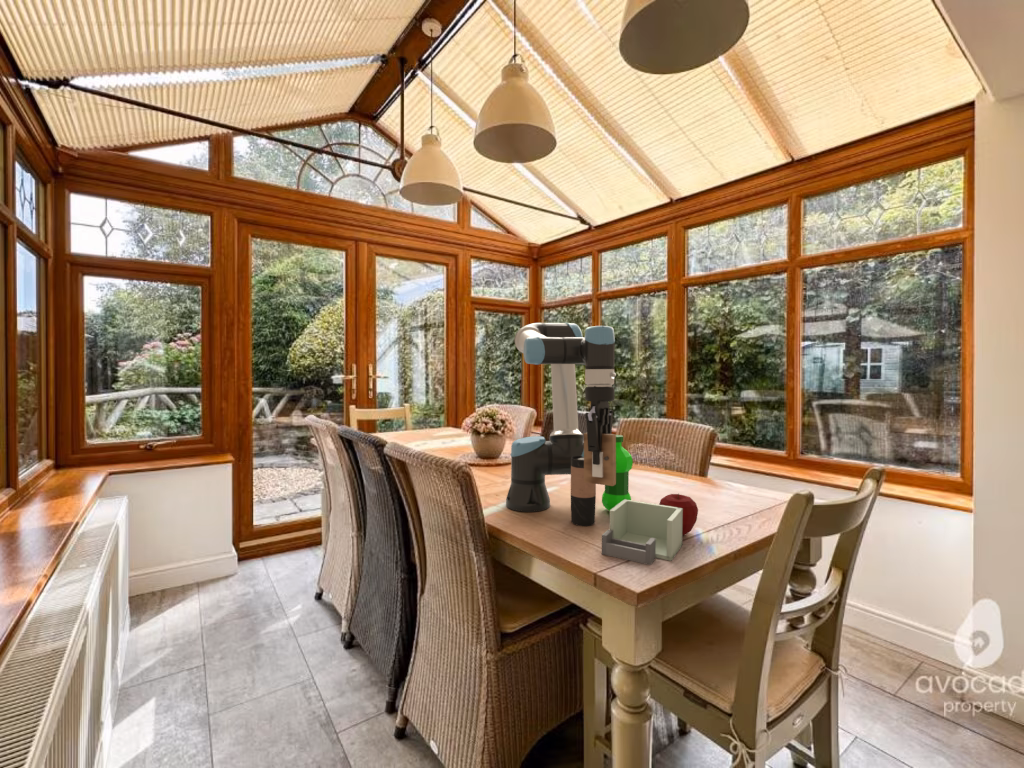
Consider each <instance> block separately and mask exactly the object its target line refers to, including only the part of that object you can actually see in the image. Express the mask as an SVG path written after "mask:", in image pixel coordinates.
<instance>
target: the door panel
mask: <svg viewBox="0 0 1024 768" xmlns="http://www.w3.org/2000/svg"><path fill="white" fill-rule="evenodd" d="M616 435H617V434H614V433H612V434H604V433H602V450H601V452H603V477H602V478H601V477H593V476H592V452H591V451H588V439H587V432H584V433H583V440H584V482H586V483H593V484H596V485H601V486H603V485H604V486H605V485H608V486H614V485H616Z"/></svg>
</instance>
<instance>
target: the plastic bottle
mask: <svg viewBox="0 0 1024 768" xmlns="http://www.w3.org/2000/svg"><path fill="white" fill-rule="evenodd" d="M623 442H624V436H623V435H622V434H621V435H620V434H616V485H614V486H608V485H604V491H603V493H602V495H601V503H602V506H603V507H604V508H605V509H606V510H608V512H609V513H610V510H611V509H612V508H614V507H615V506H616V505H618V504H619V503H620V502H622V501H623V500H624V499H626V500H632V496H631V494H630V492H629V481H630V479H629V477H630V476H629V475H630V474H629V472H631V470H632V468H633V464H634V463H633V461H634V460H633V456H632V455H631V453H630V452H629V451H628V450H627V449H625V448H624V447H623V446H622V445H623V444H622V443H623Z"/></svg>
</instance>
